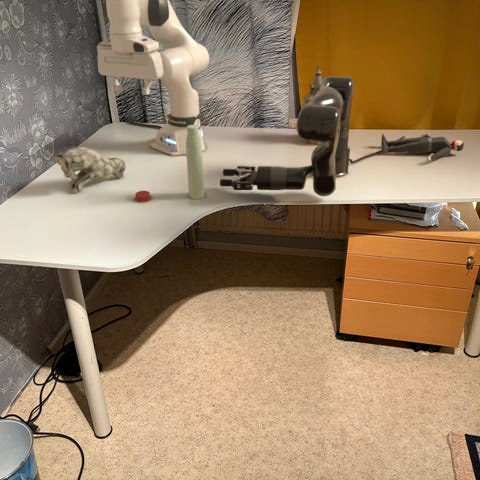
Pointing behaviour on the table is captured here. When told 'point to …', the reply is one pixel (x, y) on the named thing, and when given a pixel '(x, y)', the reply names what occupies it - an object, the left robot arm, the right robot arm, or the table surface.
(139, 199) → the cap
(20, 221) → the table surface
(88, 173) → the figurine
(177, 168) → the table surface
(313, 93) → the miniature building
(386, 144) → the toy
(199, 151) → the bottle
